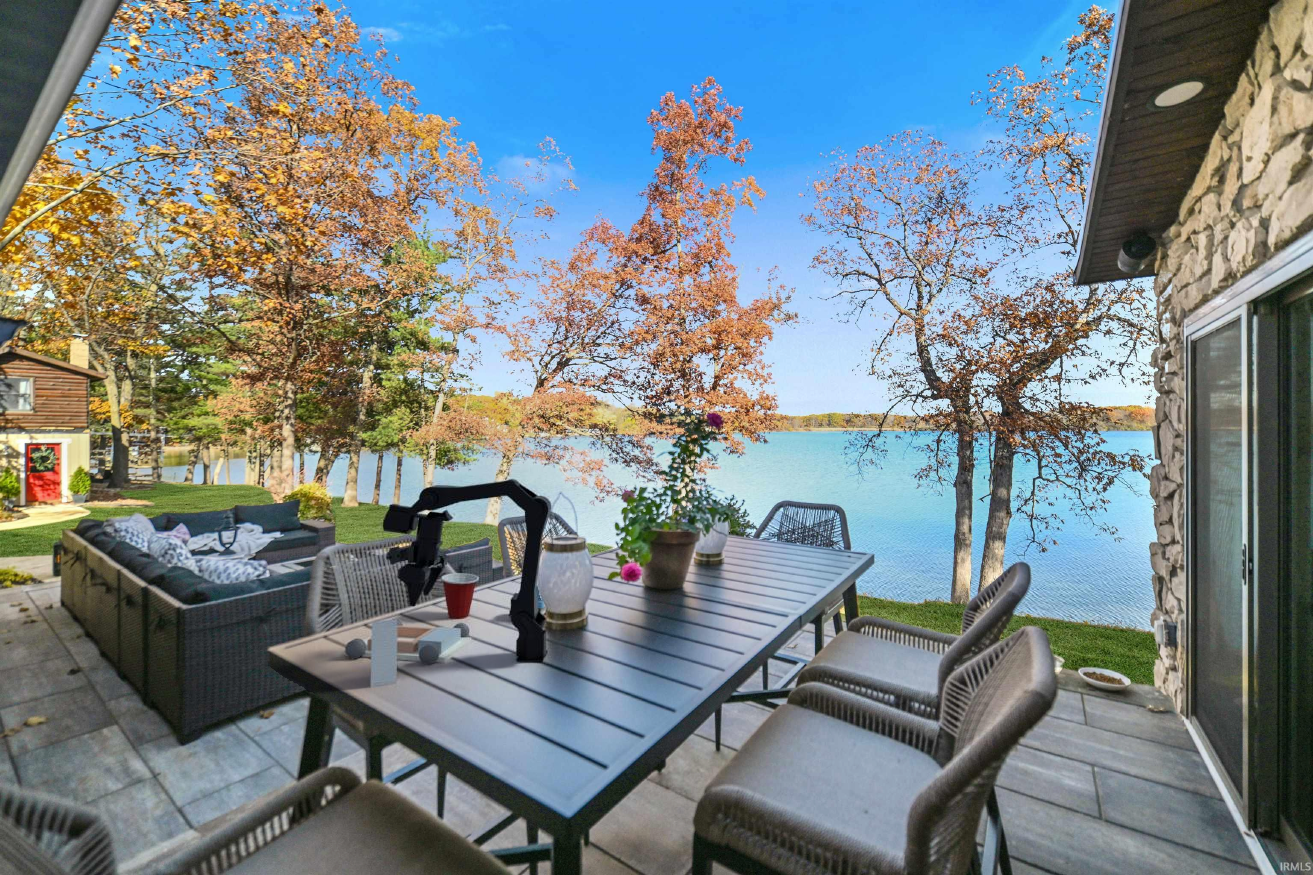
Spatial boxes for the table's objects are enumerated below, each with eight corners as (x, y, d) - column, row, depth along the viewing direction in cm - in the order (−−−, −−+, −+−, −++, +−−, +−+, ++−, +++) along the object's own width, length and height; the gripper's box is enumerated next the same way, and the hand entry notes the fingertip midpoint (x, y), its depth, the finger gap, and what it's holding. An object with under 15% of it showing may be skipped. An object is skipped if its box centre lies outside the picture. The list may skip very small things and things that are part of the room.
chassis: (473, 640, 150) (474, 623, 150) (441, 665, 133) (441, 646, 133) (383, 634, 153) (383, 617, 153) (339, 657, 136) (340, 639, 136)
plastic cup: (471, 622, 164) (472, 581, 165) (434, 621, 165) (435, 580, 165) (483, 611, 175) (483, 572, 175) (448, 610, 175) (449, 571, 176)
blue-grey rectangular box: (395, 674, 127) (396, 619, 127) (396, 683, 123) (397, 625, 123) (370, 678, 125) (372, 622, 125) (370, 687, 121) (371, 628, 121)
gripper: (408, 526, 146) (400, 586, 146) (378, 539, 127) (368, 607, 127) (452, 532, 147) (443, 591, 146) (428, 545, 128) (418, 613, 128)
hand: (419, 600), depth 137 cm, fingers open, 9 cm apart
